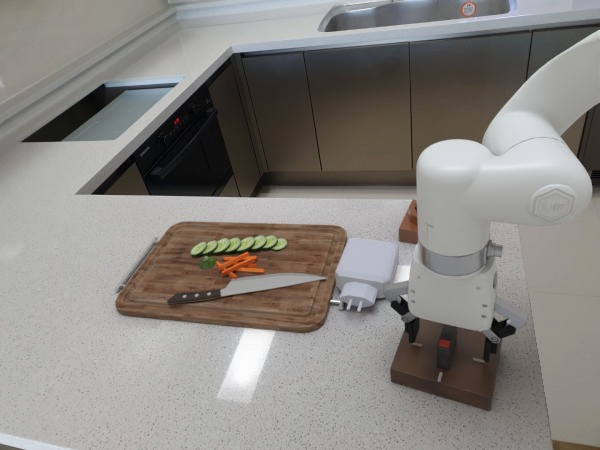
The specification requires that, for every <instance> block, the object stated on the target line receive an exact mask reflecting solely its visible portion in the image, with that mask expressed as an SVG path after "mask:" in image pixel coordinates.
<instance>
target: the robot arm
mask: <svg viewBox="0 0 600 450" xmlns="http://www.w3.org/2000/svg"><path fill="white" fill-rule="evenodd" d="M598 104H600V29H598V30H596V31H594V32H592V33H591V34H589V35H587V36H586V37H584V38H583V39H581V40H579V41H578V42H576V43H575V44H574V45H572V46H570V47H568V48H567V49H565V50H564V51H562V52H561V53H559V54H557V55H556V56H555V57H553V58H551V59H550V60H549V61H547V62H546V63H545V64H544V65H542V66H541V67H539V68H538V69H537V70H536V71H535V72H534V73H533V74H532V75H530V77H529V78H527V80H526V81H525V82H524V83H523V84H522V85H521V87H519V89H518V90H516V92H515V93H514V94H513V95H512V96H511V97H510V99H508V101H507V102H506V103H505V104H504V105H503V106H502V107H501V109H500V110H499V111H498V113H496V115H495V116H494V118H493V119H492V120H491V122H490V123H489V125H488V127H487V129H486V131H485V132H484V134H483V137H482V140H481V143H479V142H478V141H474V140H471V139H462V138H455V139H454V138H453V139H445V140H440V141H438V142H435V143H432V144H430V145H429V146H427V147H426V148H424V150H422V152H421V153H420V155H419V156H418V159H417V162H416V166H415V168H416V169H415V177H416V179H415V180H416V183H415V184H416V200H417V218H418V244H415V246H414V249H413V253H412V257H411V261H410V268H409V278H408V280H403V281H399V282H398V281H397V282H393V283H392V284H387V285H386V286H385V288H384V290H383V294H384V296H385V297H384V298H385V299H386V300H387V302H388V303H389V304H390V305H389V306H390V308H391V309H393V310H394V311H395V312H396V313H397V314H398V315H400V320H401V322H403V323H404V329H405V333H408V337H409V343H412V344H413V343H415V340H416V337H417V334H418V331H419V327H420V324H419V318H422V319H426V320H430V321H434V322H438V323H443V324H447V325H452V326H456V327H461V328H466V329H470V330H474V331H479V332H482V333H483V334H484V335H485V336H486V338H485V344H484V355H483V360H485V361H484V362H488V363H489V358H490V353H492V354H496V352H497V346H498V343H499V342H500V339H502V340H503V339H505V338H509V337H510V336H514V335H515V334H516V332H517V331H518V330H520V329H522V328H523V327H524V326H525V325H526V324H527V323H528V317H529V314H528V312H527V311H525V310H523V309H521V308H519V307H517V306H516V305H514V304H512V303H510V302H508V300H505V299H503V298H501V297H499V296H498V266H497V260H496V258H502V255H503V250H504V245H503V244H497V243H496V242H493V239H491V222H493V223H494V222H495V223H504V224H510V225H519V226H527V227H528V226H529V227H551V226H552V227H553V226H557V225H561V224H565V223H567V222H570V221H572V220H574V219H576V218H578V217H579V216H580V215H581V214H583V212H584V211H586V209H587V208H588V206H589V204H590V203H591V200H592V197H593V185H592V184H593V183H592V179H591V177H590V174H589V173H588V171H587V170H586V167H584V165H583V164H582V163H581V161H580V160H579V158H578V157H577V156H576V155H575V154H574V153H573V151H572V150H571V148H570V147H569V146H568V143H566V141H565V140H563V137H562V135H563V134H564V133H565V132H566V131H568V129H569V128H570V127H571V126H573V124H574V123H575V122H577V120H579V119H580V118H581V117H582V116H583V115H584V114H586V113H587V112H588V111H590V109H593V108H594V107H595V106H596V105H598ZM404 295H407V300H406V299H405V298H404V297H402V296H404ZM495 313H497V314H499V315H501V316H502V317H504V318H505V319H503V320H500V318H499V317H498V316H497V315H496V314H495Z"/></svg>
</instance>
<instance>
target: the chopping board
mask: <svg viewBox="0 0 600 450" xmlns="http://www.w3.org/2000/svg"><path fill="white" fill-rule="evenodd" d="M158 239H159V238H158V237H157V236H154V237H153V239H152V240H151V241H150V242H149V244H148V245H147V246H146V248H145V249H144V250H143V252H142V253H141V254H140V256H139V257H138V258H137V259H136V260H135V262H134V263H133V265H132V266H131V267H130V268H129V269H128V271H127V272H126V273H125V274H124V276H123V278H122V279H121V280H120V281H119V283H118V284H117V285H116V287H115V288H114V291H115V292H119V291H120V289H121V288H122V290H121V291H120V292H119V294H118V295H117V297H116V299H115V302H114V303H115V304H114V306H115V308H116V310H117V311H118V312H119V314H120V315H123V316H126V317H135V318H145V319H156V320H157V319H158V320H168V321H178V322H186V323H187V322H188V323H189V322H190V323H197V324H209V325H217V326H229V327H237V328H239V327H240V328H250V329H260V330H268V331H278V332H280V331H281V332H291V333H298V334H299V333H301V334H302V333H304V334H305V333H312V332H315V331H317V330H319V329H320V328H321V327H322V326H324V325H325V322H326V321H327V318H328V314H329V310H330V307H331V304H338V309H339V310H344V307H345V304H346V303H345V302H343V301H342V300H341V299H340V300H339V299H333V295H334V293H335V288H336V278H335V271H336V269H337V266H338V264H339V261H340V259H341V256H342V254H343V251H344V249H345V246H346V244H347V241H348V234H347V230H345V227H342V226H340V225H335V224H312V223H311V224H310V223H308V224H306V223H273V222H272V223H271V222H269V223H267V222H229V221H227V222H226V221H195V220H194V221H193V220H191V221H190V220H186V221H180V222H177V223H175V224H172V225H171V226H170V227H169V228H168V229H167V230H166V231H165V233H164V234H163V235H162V236H161V238H160V239H159V240H158ZM155 244H156V245H155ZM153 246H154V247H153ZM151 249H152V250H151ZM150 250H151V251H150ZM149 251H150V252H149ZM147 254H148V255H147ZM146 255H147V256H146ZM144 258H145V259H144ZM143 259H144V260H143ZM142 261H143V262H142ZM141 262H142V263H141ZM138 266H139V267H138ZM137 267H138V268H137ZM136 269H137V270H136ZM135 270H136V271H135ZM134 271H135V272H134ZM133 272H134V274H133ZM132 274H133V275H132ZM131 275H132V276H131ZM130 276H131V278H130ZM129 278H130V279H129ZM128 279H129V281H128V282H127V280H128ZM126 282H127V283H126ZM125 283H126V284H125Z"/></svg>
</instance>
